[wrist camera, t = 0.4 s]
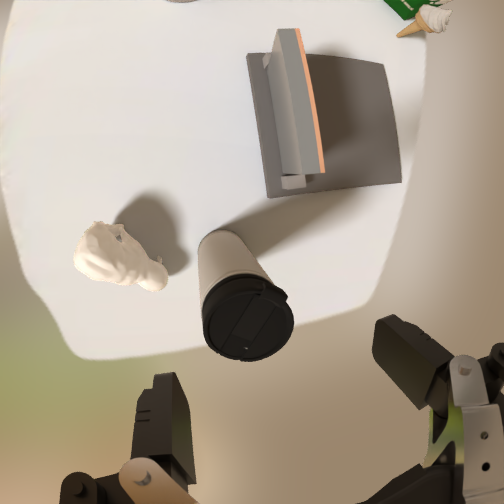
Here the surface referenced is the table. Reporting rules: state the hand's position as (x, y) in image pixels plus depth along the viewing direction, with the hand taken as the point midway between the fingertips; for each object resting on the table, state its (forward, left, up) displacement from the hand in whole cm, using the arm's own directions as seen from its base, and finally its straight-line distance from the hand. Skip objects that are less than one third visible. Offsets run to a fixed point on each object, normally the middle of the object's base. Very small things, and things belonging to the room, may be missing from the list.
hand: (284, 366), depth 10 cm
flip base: (-13, +18, -27) cm, 35 cm away
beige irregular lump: (+1, -12, -28) cm, 30 cm away
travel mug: (+3, 0, -27) cm, 28 cm away
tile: (-13, +11, -25) cm, 31 cm away
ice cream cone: (-31, +36, -27) cm, 55 cm away
